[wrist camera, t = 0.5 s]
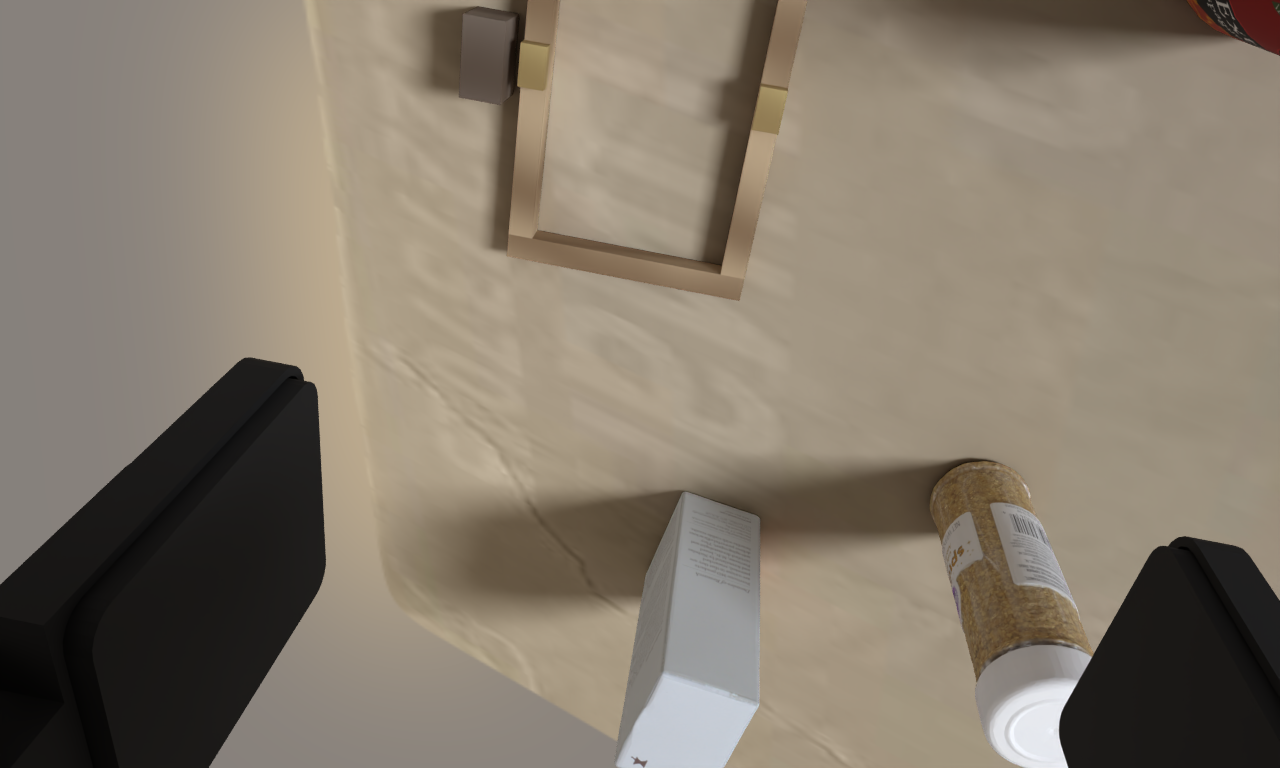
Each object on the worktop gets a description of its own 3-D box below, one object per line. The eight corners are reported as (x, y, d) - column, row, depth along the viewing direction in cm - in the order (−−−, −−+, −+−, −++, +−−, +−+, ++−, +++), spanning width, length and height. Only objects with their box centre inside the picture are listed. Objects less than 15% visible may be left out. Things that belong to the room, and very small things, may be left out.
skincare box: (721, 599, 48) (706, 800, 38) (644, 573, 48) (608, 768, 37) (765, 513, 45) (762, 707, 34) (683, 485, 45) (656, 672, 34)
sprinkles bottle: (910, 484, 43) (960, 714, 31) (1002, 441, 41) (1091, 666, 30) (957, 550, 44) (1021, 792, 33) (1047, 511, 43) (1150, 752, 31)
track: (499, -377, 29) (482, -393, 27) (877, -314, 29) (883, -326, 27) (465, 238, 40) (451, 255, 38) (740, 291, 39) (738, 311, 37)
